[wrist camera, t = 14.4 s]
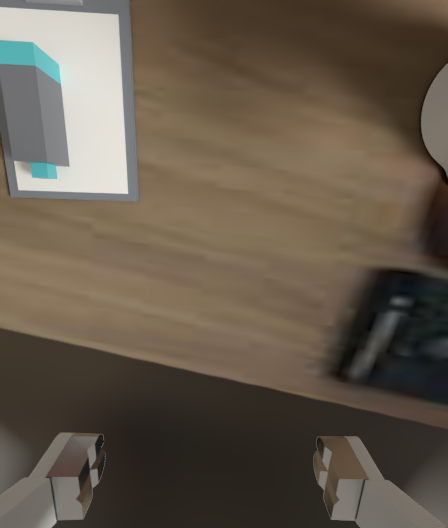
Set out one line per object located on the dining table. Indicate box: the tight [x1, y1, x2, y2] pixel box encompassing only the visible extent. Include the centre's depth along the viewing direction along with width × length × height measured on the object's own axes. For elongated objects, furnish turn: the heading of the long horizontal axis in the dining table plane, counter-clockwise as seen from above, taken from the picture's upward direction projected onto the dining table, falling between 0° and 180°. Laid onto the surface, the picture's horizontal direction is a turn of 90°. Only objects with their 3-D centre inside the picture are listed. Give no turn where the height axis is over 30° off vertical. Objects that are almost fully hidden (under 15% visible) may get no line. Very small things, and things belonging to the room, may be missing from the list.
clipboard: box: [0, 0, 139, 201], centre depth 31 cm, size 16×23×2 cm
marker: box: [0, 40, 70, 179], centre depth 29 cm, size 13×4×4 cm, turn 178°
